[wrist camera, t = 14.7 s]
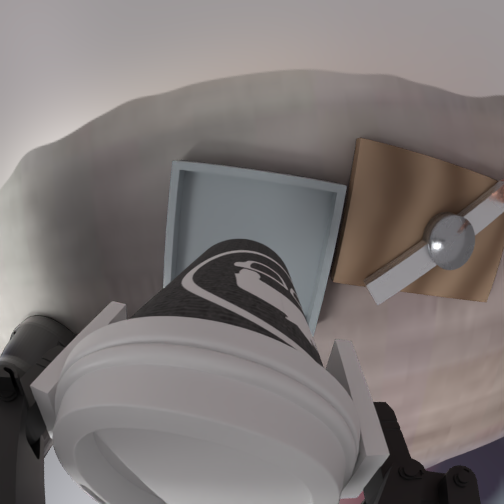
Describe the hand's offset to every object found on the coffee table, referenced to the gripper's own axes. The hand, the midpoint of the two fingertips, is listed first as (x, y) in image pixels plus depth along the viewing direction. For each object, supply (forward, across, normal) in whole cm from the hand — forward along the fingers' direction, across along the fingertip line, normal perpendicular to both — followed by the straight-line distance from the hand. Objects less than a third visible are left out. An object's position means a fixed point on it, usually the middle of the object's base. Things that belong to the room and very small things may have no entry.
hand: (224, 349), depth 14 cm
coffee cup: (+7, 0, 0) cm, 7 cm away
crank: (+15, +18, +4) cm, 24 cm away
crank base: (+16, +17, +5) cm, 24 cm away
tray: (+16, 0, 0) cm, 16 cm away
